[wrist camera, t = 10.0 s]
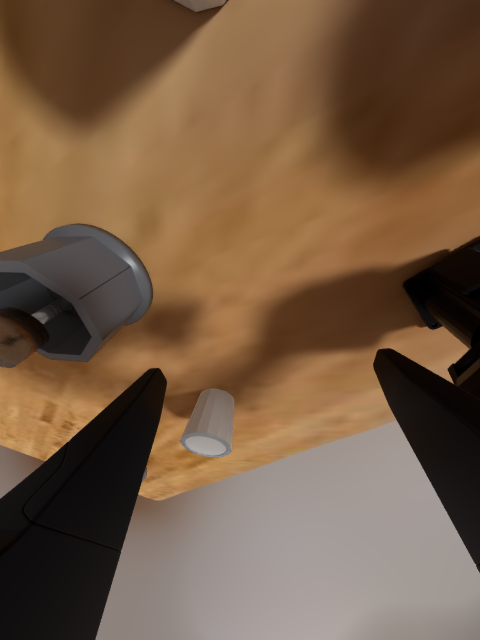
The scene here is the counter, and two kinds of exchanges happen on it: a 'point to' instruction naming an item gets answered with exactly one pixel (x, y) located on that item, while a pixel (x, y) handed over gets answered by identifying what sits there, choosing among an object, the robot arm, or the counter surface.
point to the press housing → (77, 287)
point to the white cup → (200, 4)
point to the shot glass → (210, 424)
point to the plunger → (27, 329)
